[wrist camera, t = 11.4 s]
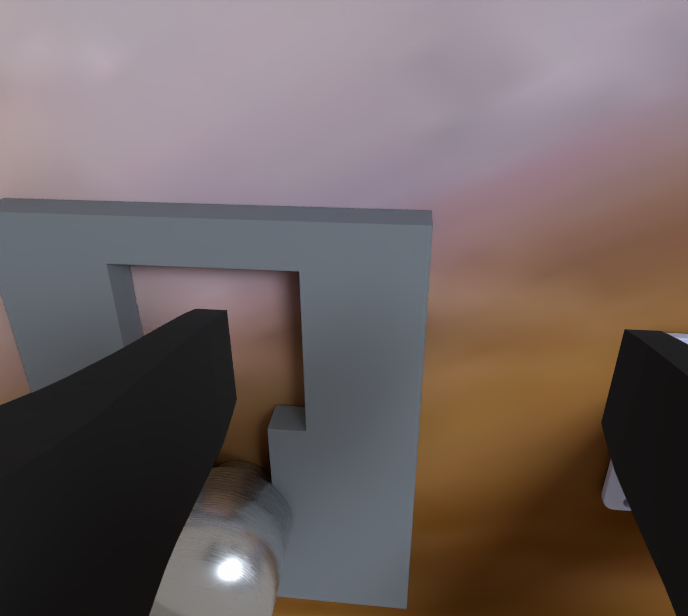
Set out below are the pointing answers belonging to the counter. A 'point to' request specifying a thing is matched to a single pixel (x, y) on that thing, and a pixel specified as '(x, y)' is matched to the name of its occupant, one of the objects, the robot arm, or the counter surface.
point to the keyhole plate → (317, 339)
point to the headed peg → (228, 548)
